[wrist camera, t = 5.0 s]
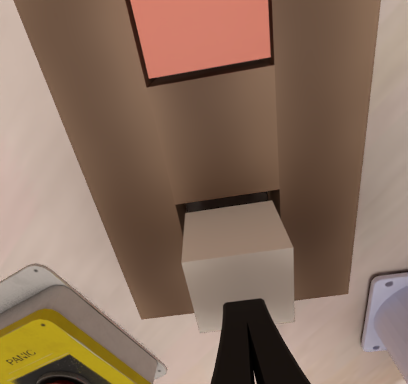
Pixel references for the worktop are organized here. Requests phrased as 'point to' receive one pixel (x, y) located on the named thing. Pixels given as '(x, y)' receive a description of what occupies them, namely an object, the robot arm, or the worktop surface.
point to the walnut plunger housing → (214, 134)
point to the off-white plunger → (238, 261)
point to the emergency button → (64, 336)
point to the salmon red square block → (200, 33)
